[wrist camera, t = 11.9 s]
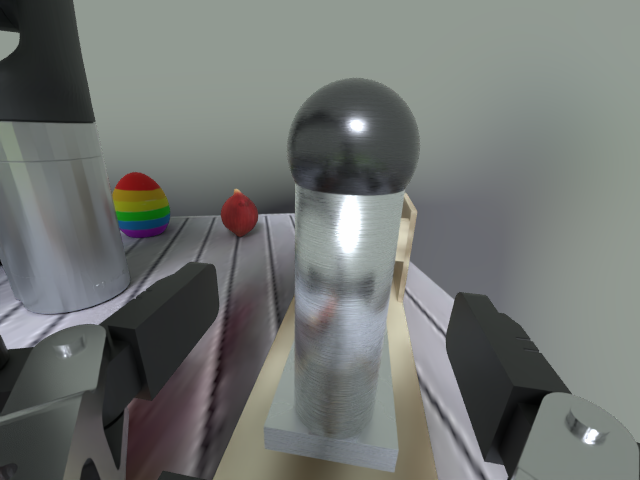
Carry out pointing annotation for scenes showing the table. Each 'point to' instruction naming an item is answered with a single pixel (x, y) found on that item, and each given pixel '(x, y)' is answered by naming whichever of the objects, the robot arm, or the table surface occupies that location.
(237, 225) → the onion
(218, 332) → the table surface
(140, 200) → the decorative egg
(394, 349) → the frame
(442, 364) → the table surface
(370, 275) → the shaft
